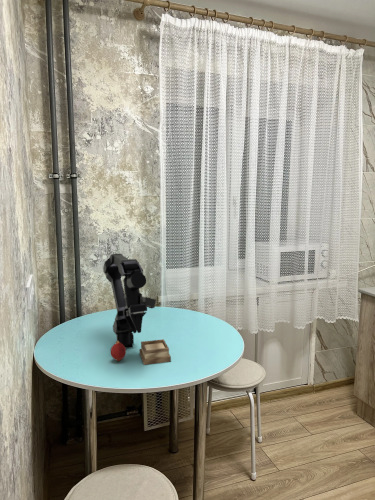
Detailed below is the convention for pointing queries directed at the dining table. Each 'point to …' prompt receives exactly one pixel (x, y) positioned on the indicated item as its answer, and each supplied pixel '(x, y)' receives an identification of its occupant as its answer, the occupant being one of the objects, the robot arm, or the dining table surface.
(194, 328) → the dining table surface
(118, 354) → the pomegranate
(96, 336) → the dining table surface
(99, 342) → the dining table surface
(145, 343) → the pedestal
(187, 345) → the dining table surface
